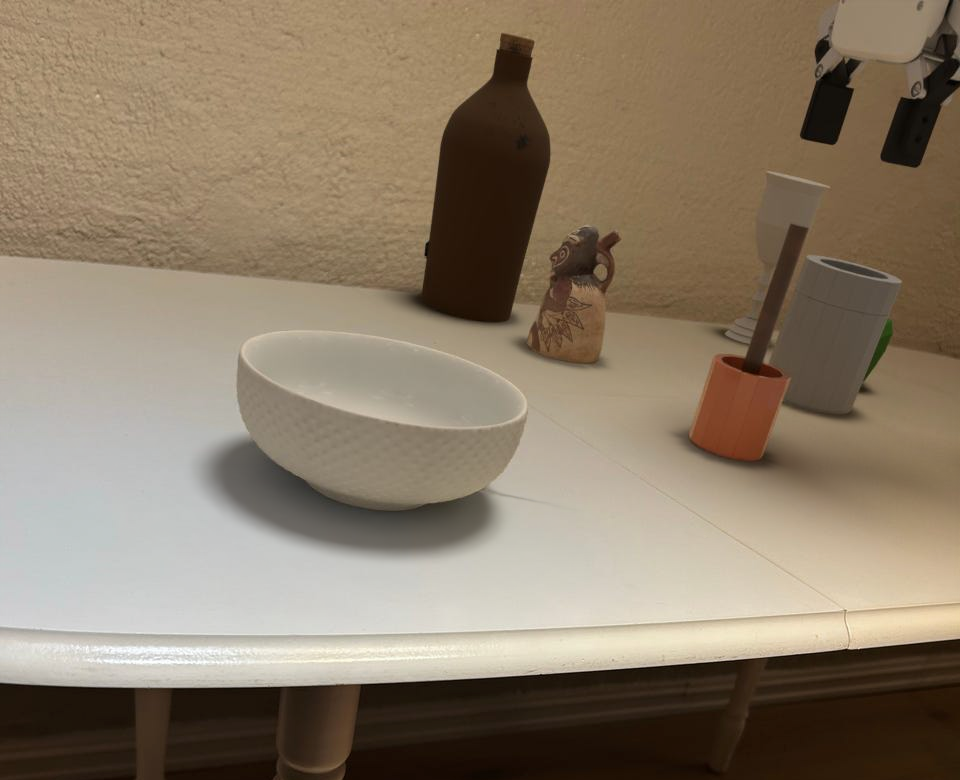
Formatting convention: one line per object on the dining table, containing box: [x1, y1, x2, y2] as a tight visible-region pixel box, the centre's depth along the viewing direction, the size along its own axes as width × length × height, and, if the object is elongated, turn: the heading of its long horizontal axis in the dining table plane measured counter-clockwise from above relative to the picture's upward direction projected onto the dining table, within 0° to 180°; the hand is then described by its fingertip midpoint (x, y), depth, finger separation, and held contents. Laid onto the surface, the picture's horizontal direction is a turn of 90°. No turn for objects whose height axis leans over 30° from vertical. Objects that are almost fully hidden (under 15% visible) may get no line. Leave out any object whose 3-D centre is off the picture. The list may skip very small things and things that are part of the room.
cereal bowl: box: [236, 329, 529, 512], centre depth 62 cm, size 17×17×7 cm
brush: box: [741, 223, 809, 375], centre depth 80 cm, size 3×3×17 cm
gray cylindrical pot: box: [767, 254, 903, 415], centre depth 101 cm, size 9×9×13 cm
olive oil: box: [420, 32, 552, 323], centre depth 102 cm, size 11×11×25 cm
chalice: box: [724, 170, 831, 345], centre depth 119 cm, size 7×7×18 cm
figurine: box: [526, 224, 622, 364], centre depth 97 cm, size 7×7×12 cm
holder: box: [688, 353, 791, 462], centre depth 82 cm, size 6×6×7 cm
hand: (856, 152), depth 76 cm, fingers open, 9 cm apart
